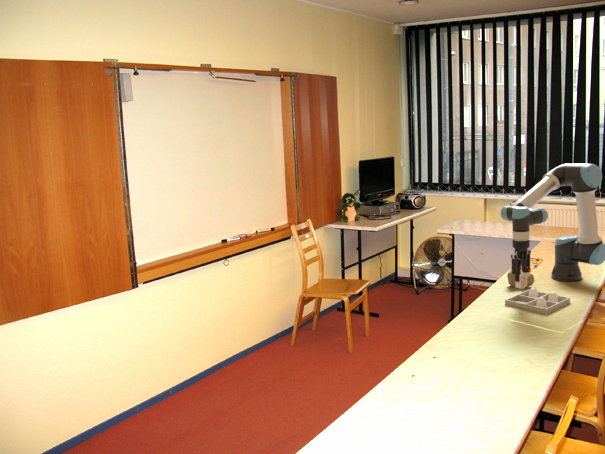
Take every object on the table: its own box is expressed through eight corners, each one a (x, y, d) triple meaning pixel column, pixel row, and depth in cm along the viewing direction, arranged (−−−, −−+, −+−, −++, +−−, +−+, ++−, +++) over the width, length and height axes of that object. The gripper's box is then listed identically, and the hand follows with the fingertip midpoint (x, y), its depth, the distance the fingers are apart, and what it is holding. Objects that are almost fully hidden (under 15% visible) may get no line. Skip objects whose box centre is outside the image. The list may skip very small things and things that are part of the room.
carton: (529, 295, 268) (529, 289, 268) (570, 303, 252) (570, 297, 251) (505, 305, 257) (505, 299, 256) (546, 315, 240) (546, 309, 239)
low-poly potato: (500, 286, 286) (507, 282, 275) (503, 267, 289) (510, 263, 278) (529, 293, 284) (536, 289, 273) (531, 274, 287) (539, 269, 276)
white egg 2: (539, 306, 250) (539, 295, 249) (548, 308, 247) (548, 296, 245) (534, 308, 248) (534, 297, 246) (543, 310, 244) (543, 299, 243)
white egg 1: (531, 296, 264) (531, 285, 263) (539, 298, 260) (539, 287, 259) (526, 298, 262) (526, 287, 260) (534, 300, 258) (534, 289, 257)
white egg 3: (551, 301, 256) (551, 289, 255) (559, 302, 252) (559, 291, 251) (546, 303, 253) (546, 292, 252) (554, 305, 250) (554, 293, 249)
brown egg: (519, 285, 257) (519, 274, 255) (527, 286, 253) (527, 275, 252) (514, 287, 254) (514, 276, 253) (522, 289, 251) (522, 277, 250)
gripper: (523, 235, 257) (524, 281, 261) (503, 241, 248) (503, 289, 252) (538, 237, 251) (538, 283, 255) (517, 243, 242) (518, 292, 246)
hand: (521, 286), depth 254 cm, fingers closed on brown egg, 4 cm apart
